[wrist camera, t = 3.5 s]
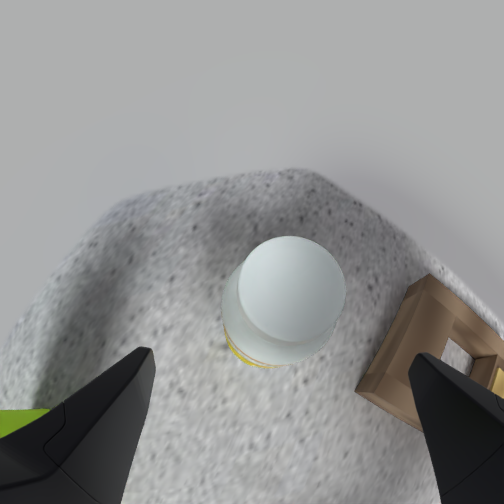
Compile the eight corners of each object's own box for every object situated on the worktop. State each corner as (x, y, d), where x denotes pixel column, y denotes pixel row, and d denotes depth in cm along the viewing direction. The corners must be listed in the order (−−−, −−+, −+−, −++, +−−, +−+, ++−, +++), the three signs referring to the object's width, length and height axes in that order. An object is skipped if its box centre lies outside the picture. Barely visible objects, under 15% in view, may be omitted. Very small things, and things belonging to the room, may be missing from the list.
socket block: (497, 361, 18) (520, 355, 15) (460, 452, 14) (484, 456, 11) (409, 286, 20) (431, 271, 17) (354, 391, 17) (376, 393, 14)
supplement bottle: (268, 384, 17) (302, 395, 8) (208, 331, 18) (184, 289, 10) (319, 325, 19) (386, 280, 10) (261, 276, 20) (283, 196, 11)
